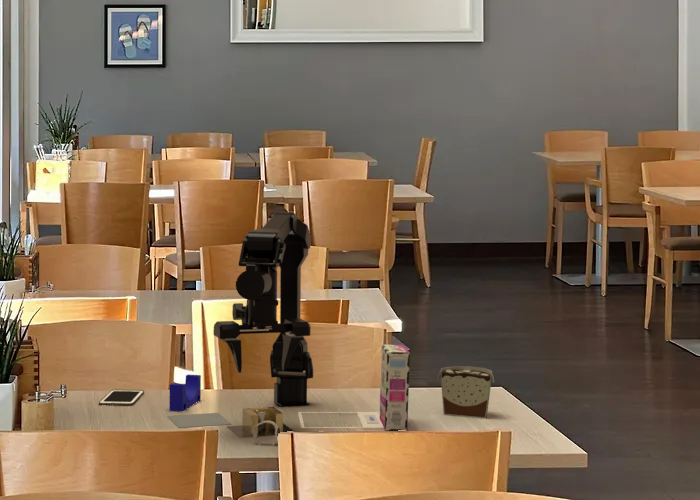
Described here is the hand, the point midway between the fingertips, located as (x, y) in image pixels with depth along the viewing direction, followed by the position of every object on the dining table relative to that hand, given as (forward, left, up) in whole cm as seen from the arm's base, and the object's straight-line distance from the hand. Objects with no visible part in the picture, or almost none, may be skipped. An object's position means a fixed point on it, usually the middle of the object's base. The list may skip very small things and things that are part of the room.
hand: (261, 371), depth 252 cm
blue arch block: (+9, -30, -13) cm, 34 cm away
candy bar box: (-28, +2, -13) cm, 31 cm away
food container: (-48, -4, -13) cm, 50 cm away
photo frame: (-19, -5, -13) cm, 24 cm away
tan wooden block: (0, 0, -12) cm, 12 cm away
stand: (0, 0, -13) cm, 13 cm away
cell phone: (+21, -40, -13) cm, 47 cm away
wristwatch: (+2, +11, -13) cm, 17 cm away
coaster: (+10, -12, -13) cm, 20 cm away
